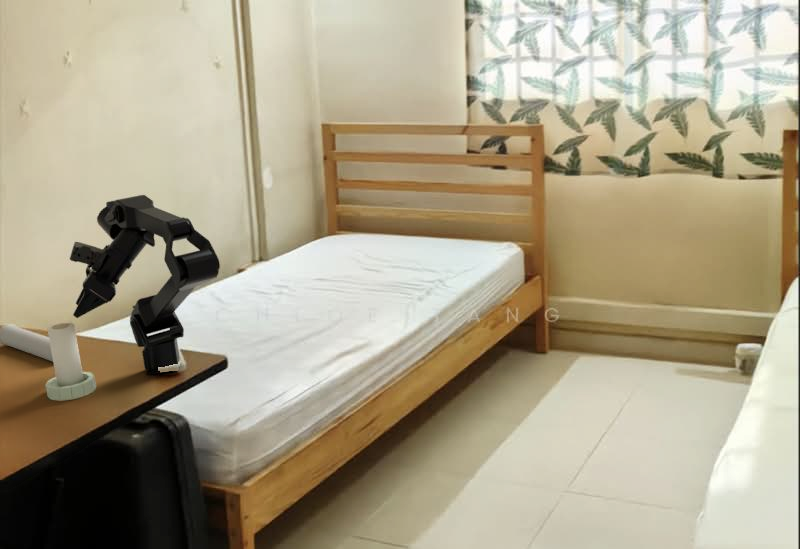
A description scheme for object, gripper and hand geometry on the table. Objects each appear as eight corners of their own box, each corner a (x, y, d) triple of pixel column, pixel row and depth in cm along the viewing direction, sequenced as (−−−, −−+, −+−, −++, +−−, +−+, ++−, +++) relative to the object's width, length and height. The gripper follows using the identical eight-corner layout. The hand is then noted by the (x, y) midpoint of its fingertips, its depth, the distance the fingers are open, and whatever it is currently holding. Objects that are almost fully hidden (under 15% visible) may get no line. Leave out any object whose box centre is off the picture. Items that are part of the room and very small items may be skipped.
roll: (90, 385, 196) (79, 322, 193) (74, 394, 192) (63, 330, 188) (69, 384, 198) (58, 321, 195) (53, 393, 193) (41, 329, 190)
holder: (99, 381, 200) (97, 369, 199) (90, 397, 191) (87, 385, 190) (54, 386, 199) (52, 374, 198) (42, 402, 190) (40, 390, 190)
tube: (75, 341, 215) (21, 324, 231) (53, 341, 211) (-1, 323, 227) (72, 366, 215) (18, 346, 232) (49, 365, 211) (-4, 345, 228)
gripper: (91, 219, 208) (46, 277, 208) (87, 236, 190) (38, 299, 190) (135, 250, 211) (91, 307, 212) (135, 269, 194) (87, 331, 194)
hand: (76, 310), depth 202 cm, fingers open, 9 cm apart
